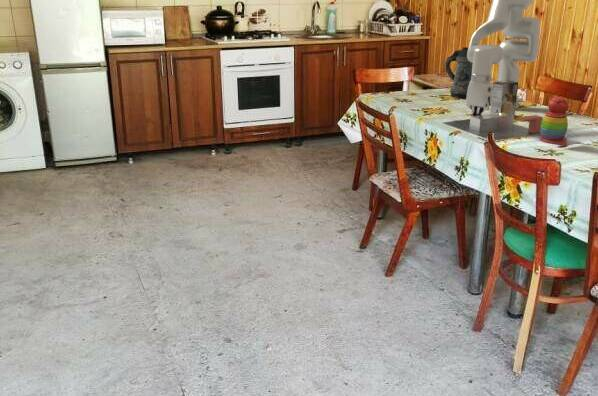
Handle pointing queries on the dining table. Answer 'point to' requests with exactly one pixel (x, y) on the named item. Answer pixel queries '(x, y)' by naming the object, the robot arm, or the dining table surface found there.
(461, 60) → the beer stein
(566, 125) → the stacking bear
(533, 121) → the keeper
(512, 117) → the link
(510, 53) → the robot arm
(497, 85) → the coffee box
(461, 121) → the base plate
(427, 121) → the dining table surface
